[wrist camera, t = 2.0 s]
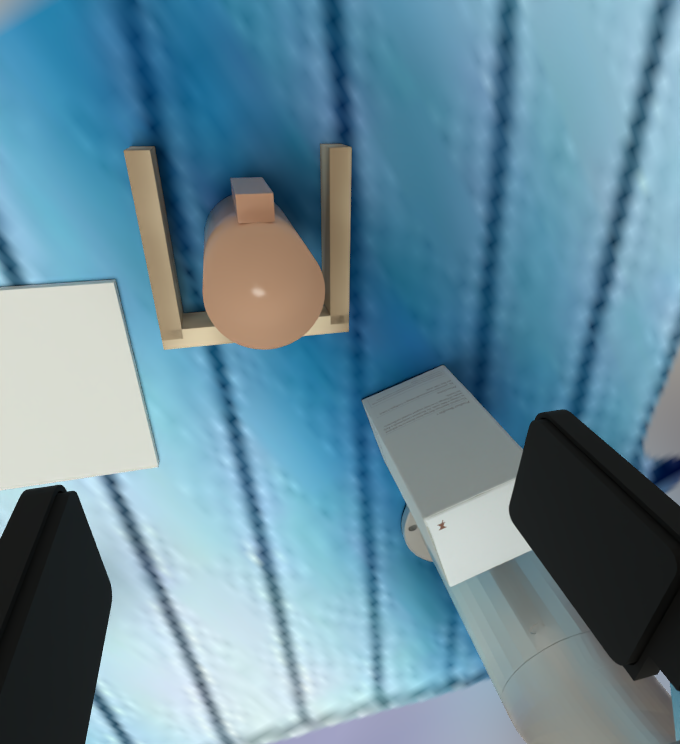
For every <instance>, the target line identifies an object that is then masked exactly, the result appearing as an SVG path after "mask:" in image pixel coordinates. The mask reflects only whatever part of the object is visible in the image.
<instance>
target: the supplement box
mask: <svg viewBox="0 0 680 744" xmlns="http://www.w3.org/2000/svg"><path fill="white" fill-rule="evenodd" d="M362 403H363V406H364V408H365V411H366V414H367V416H368V419H369V422H370V424H371V427H372V430H373V433H374V436H375V438H376V441H377V443H378V446H379V449H380V451H381V454H382V456H383V459H384V461H385V463H386V465H387V467H388V469H389V471H390V473H391V475H392V476H393V478H394V480H395V482H396V484H397V486H398V488H399V490H400V492H401V494H402V496H403V498H404V500H405V502H406V504H407V506H408V508H409V510H410V512H411V514H412V515H413V517H414V519H415V521H416V524H417V526H418V528H419V529H420V531H421V533H422V535H423V537H424V539H425V541H426V543H427V545H428V547H429V549H430V551H431V553H432V555H433V557H434V559H435V560H436V562H437V564H438V566H439V568H440V570H441V572H442V574H443V576H444V578H445V580H446V581H447V583H448V585H449V586H450V587H452V586H454V585H457V584H459V583H461V582H463V581H465V580H467V579H469V578H471V577H473V576H476V575H478V574H480V573H482V572H484V571H487V570H489V569H491V568H493V567H495V566H498V565H500V564H502V563H504V562H506V561H509V560H511V559H513V558H515V557H518V556H520V555H522V554H524V553H526V552H529V551H531V550H532V549H531V548H530V546H529V545H528V543H527V542H526V541H525V539H524V538H523V536H522V535H521V534H520V532H519V531H518V530H517V528H516V527H515V525H514V524H513V522H512V521H511V518H510V515H509V504H510V500H511V496H512V492H513V488H514V484H515V480H516V476H517V472H518V468H519V464H520V460H521V457H522V453H523V449H522V448H521V447H520V446H519V445H518V444H517V443H516V442H515V441H514V440H513V439H512V438H511V436H510V435H509V434H508V433H507V432H506V431H505V430H504V429H503V428H502V427H501V426H500V424H499V423H498V422H497V421H496V420H495V419H494V418H493V417H492V416H491V415H490V414H489V412H488V411H487V410H486V409H485V408H484V407H483V406H482V405H481V404H480V403H479V402H478V401H477V400H476V398H475V397H474V396H473V395H472V394H471V393H470V392H469V391H468V390H467V389H466V388H465V387H464V386H463V384H462V383H461V382H460V381H458V380H457V378H456V377H455V376H454V375H453V374H452V373H451V372H450V371H449V370H448V369H447V368H446V367H445V366H444V365H442V366H439V367H437V368H435V369H433V370H430V371H428V372H426V373H423V374H421V375H419V376H417V377H414V378H412V379H410V380H407V381H405V382H403V383H401V384H398V385H396V386H394V387H391V388H389V389H387V390H384V391H382V392H380V393H377V394H375V395H373V396H370V397H368V398H365V399H363V400H362Z"/></svg>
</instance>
